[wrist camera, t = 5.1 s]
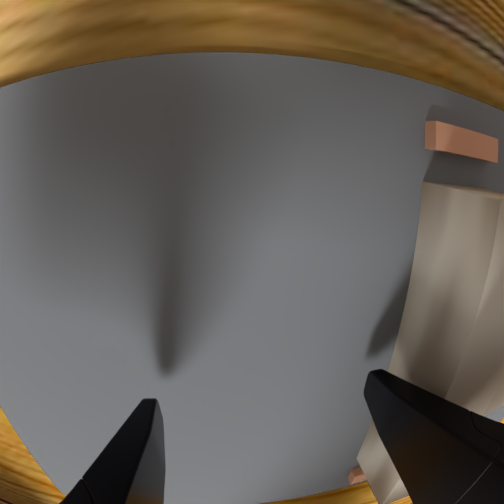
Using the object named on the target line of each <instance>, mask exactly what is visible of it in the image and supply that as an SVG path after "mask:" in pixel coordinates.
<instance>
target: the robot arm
mask: <svg viewBox="0 0 504 504" xmlns="http://www.w3.org/2000/svg"><path fill="white" fill-rule="evenodd" d="M363 393H364V398H365V401H366V403H367V406H368V409H369V411H370V414H371V416H372V419H373V422H374V425H375V427H376V430H377V432H378V435H379V437H380V439H381V441H382V443H383V445H384V447H385V449H386V451H387V452H388V454H389V456H390V458H391V460H392V462H393V464H394V466H395V468H396V470H397V472H398V474H399V476H400V478H401V480H402V482H403V484H404V486H405V488H406V490H407V492H408V494H409V496H410V498H411V500H412V502H413V504H504V424H503V423H500V422H497V421H494V420H492V419H489V418H487V417H484V416H482V415H479V414H477V413H475V412H473V411H469V410H468V409H466V408H464V407H461V406H459V405H457V404H455V403H453V402H450V401H448V400H446V399H444V398H442V397H440V396H437V395H435V394H433V393H431V392H429V391H427V390H425V389H423V388H420V387H418V386H416V385H414V384H412V383H410V382H408V381H406V380H404V379H402V378H400V377H398V376H396V375H394V374H391V373H389V372H387V371H385V370H383V369H376V370H372V371H370V372H369V373H368V375H367V379H366V383H365V387H364V392H363ZM165 474H166V462H165V443H164V422H163V416H162V413H161V409H160V406H159V402H158V400H157V399H156V398H144V399H142V400H141V401H140V403H139V404H138V405H137V407H136V408H135V409H134V410H133V412H132V413H131V414H130V416H129V417H128V418H127V420H126V421H125V422H124V423H123V425H122V426H121V427H120V429H119V430H118V431H117V432H116V434H115V435H114V436H113V438H112V439H111V440H110V441H109V443H108V444H107V445H106V447H105V448H104V449H103V450H102V452H101V453H100V454H99V456H98V457H97V458H96V459H95V461H94V462H93V463H92V465H91V466H90V467H89V468H88V470H87V471H86V472H85V474H84V475H83V476H82V479H80V480H79V481H78V482H77V484H76V485H75V486H74V487H73V489H72V490H71V491H70V492H69V493H68V495H67V496H66V497H65V498H64V499H63V500H62V501H61V502H60V503H59V504H164V489H165Z"/></svg>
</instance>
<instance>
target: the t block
mask: <svg viewBox="0 0 504 504" xmlns="http://www.w3.org/2000/svg"><path fill="white" fill-rule="evenodd" d="M388 372H389V373H391V374H394V375H396V376H398V377H400V378H402V379H404V380H406V381H408V382H410V383H412V384H414V385H416V386H418V387H420V388H423V389H425V390H427V391H429V392H431V393H433V394H435V395H437V396H440V397H442V398H444V399H446V400H448V401H450V402H453V403H455V404H457V405H459V406H461V407H464V408H466V409H468V410H469V411H473V412H475V413H477V414H479V415H482V416H486V415H488V414H490V413H491V412H493V411H495V410H497V409H498V408H500V407H502V406H503V405H504V194H503V193H499V192H496V191H492V190H488V189H483V188H476V187H468V186H460V185H452V184H443V183H434V182H424V181H423V183H422V195H421V206H420V215H419V224H418V232H417V239H416V246H415V253H414V259H413V265H412V271H411V277H410V282H409V287H408V292H407V297H406V302H405V307H404V311H403V316H402V320H401V324H400V328H399V332H398V336H397V340H396V344H395V348H394V351H393V355H392V359H391V362H390V366H389V369H388ZM357 460H358V463H359V465H360V467H361V469H362V471H363V473H364V475H365V477H366V479H367V481H368V483H369V485H370V487H371V489H372V491H373V494H374V496H375V498H376V500H377V502H378V504H389V503H391V502H394V501H397V500H399V499H402V498H404V497H406V496H409V494H408V492H407V490H406V488H405V486H404V484H403V482H402V480H401V478H400V476H399V474H398V472H397V470H396V468H395V466H394V464H393V462H392V460H391V458H390V456H389V454H388V452H387V451H386V449H385V447H384V445H383V443H382V441H381V439H380V437H379V435H378V432H377V430H376V427H375V425H374V422H373V419H372V420H371V423H370V426H369V428H368V431H367V434H366V436H365V439H364V441H363V444H362V446H361V449H360V451H359V453H358V456H357Z"/></svg>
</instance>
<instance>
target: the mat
mask: <svg viewBox="0 0 504 504" xmlns="http://www.w3.org/2000/svg"><path fill="white" fill-rule="evenodd" d="M423 181H424V182H434V183H443V184H452V185H460V186H468V187H476V188H483V189H488V190H492V191H496V192H499V193H503V194H504V111H502V110H500V109H498V108H495V107H493V106H491V105H488V104H486V103H483V102H481V101H478V100H476V99H473V98H471V97H468V96H465V95H463V94H460V93H457V92H454V91H452V90H449V89H446V88H443V87H440V86H437V85H433V84H430V83H427V82H424V81H420V80H417V79H413V78H410V77H406V76H402V75H398V74H394V73H390V72H386V71H382V70H377V69H373V68H368V67H363V66H358V65H353V64H347V63H342V62H336V61H329V60H323V59H315V58H307V57H299V56H289V55H278V54H264V53H242V52H195V53H174V54H160V55H149V56H139V57H131V58H123V59H116V60H109V61H103V62H97V63H92V64H87V65H81V66H77V67H72V68H67V69H63V70H59V71H55V72H51V73H47V74H43V75H39V76H36V77H32V78H29V79H25V80H22V81H19V82H15V83H12V84H9V85H6V86H3V87H0V406H1V408H2V410H3V411H4V413H5V415H6V417H7V418H8V420H9V422H10V423H11V425H12V426H13V428H14V430H15V431H16V433H17V434H18V436H19V437H20V439H21V440H22V442H23V443H24V445H25V446H26V448H27V449H28V451H29V452H30V453H31V455H32V456H33V458H34V459H35V460H36V462H37V463H38V464H39V466H40V467H41V468H42V470H43V471H44V472H45V473H46V475H47V476H48V477H49V478H50V480H51V481H52V482H53V483H54V485H55V486H56V487H57V488H58V489H59V491H60V492H61V493H62V494H66V495H68V493H69V492H70V491H71V490H72V489H73V487H74V486H75V485H76V484H77V482H78V481H79V480H80V479H82V476H83V475H84V474H85V472H86V471H87V470H88V468H89V467H90V466H91V465H92V463H93V462H94V461H95V459H96V458H97V457H98V456H99V454H100V453H101V452H102V450H103V449H104V448H105V447H106V445H107V444H108V443H109V441H110V440H111V439H112V438H113V436H114V435H115V434H116V432H117V431H118V430H119V429H120V427H121V426H122V425H123V423H124V422H125V421H126V420H127V418H128V417H129V416H130V414H131V413H132V412H133V410H134V409H135V408H136V407H137V405H138V404H139V403H140V401H141V400H142V399H144V398H156V399H157V400H158V402H159V406H160V409H161V413H162V416H163V422H164V443H165V462H166V474H165V489H164V504H260V503H268V502H275V501H282V500H288V499H294V498H299V497H305V496H310V495H315V494H319V493H324V492H328V491H332V490H336V489H340V488H344V487H348V486H351V485H355V484H358V483H362V482H365V481H367V479H366V477H365V475H364V473H363V471H362V469H361V467H360V465H359V463H358V460H357V456H358V453H359V451H360V449H361V446H362V444H363V441H364V439H365V436H366V434H367V431H368V428H369V426H370V423H371V420H372V416H371V414H370V411H369V409H368V406H367V403H366V401H365V398H364V393H363V392H364V387H365V383H366V379H367V375H368V373H369V372H370V371H372V370H376V369H383V370H385V371H387V372H388V369H389V366H390V362H391V359H392V355H393V351H394V348H395V344H396V340H397V336H398V332H399V328H400V324H401V320H402V316H403V311H404V307H405V302H406V297H407V292H408V287H409V282H410V277H411V271H412V265H413V259H414V253H415V246H416V239H417V232H418V224H419V215H420V206H421V195H422V183H423ZM484 417H487V418H489V419H492V420H494V421H497V422H499V421H501V420H502V419H503V417H504V405H503V406H502V407H500V408H498V409H497V410H495V411H493V412H491V413H490V414H488V415H486V416H484Z"/></svg>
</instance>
